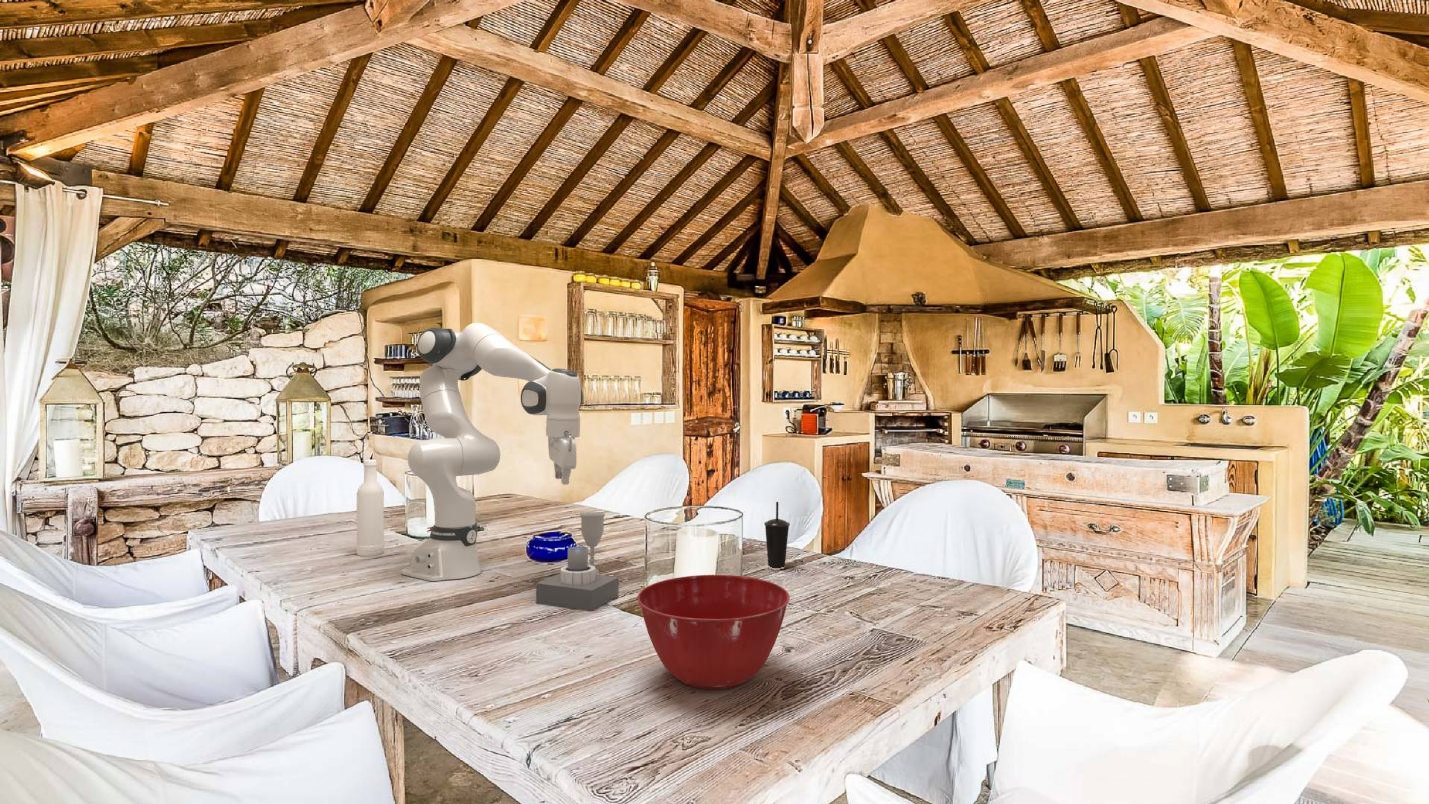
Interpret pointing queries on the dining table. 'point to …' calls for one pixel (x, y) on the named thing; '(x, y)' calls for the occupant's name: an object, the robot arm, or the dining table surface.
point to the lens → (577, 559)
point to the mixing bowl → (713, 626)
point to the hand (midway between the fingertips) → (561, 481)
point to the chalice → (592, 531)
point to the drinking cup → (776, 541)
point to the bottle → (370, 513)
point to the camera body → (577, 589)
